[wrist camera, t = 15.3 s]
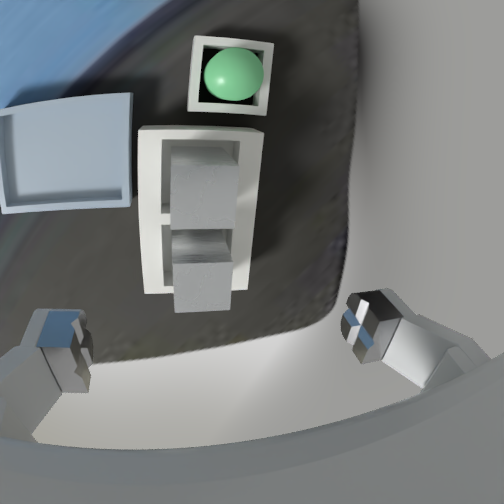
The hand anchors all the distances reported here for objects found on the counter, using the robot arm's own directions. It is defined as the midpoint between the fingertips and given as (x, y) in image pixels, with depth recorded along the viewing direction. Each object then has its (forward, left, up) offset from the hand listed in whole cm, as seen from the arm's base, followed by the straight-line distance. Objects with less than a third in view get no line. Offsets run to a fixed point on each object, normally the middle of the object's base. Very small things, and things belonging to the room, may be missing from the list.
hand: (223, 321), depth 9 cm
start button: (-8, +3, -18) cm, 20 cm away
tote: (-2, -11, -19) cm, 22 cm away
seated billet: (+6, +1, -18) cm, 19 cm away
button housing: (-8, +3, -19) cm, 21 cm away
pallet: (+3, +1, -19) cm, 19 cm away
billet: (0, +1, -18) cm, 18 cm away
